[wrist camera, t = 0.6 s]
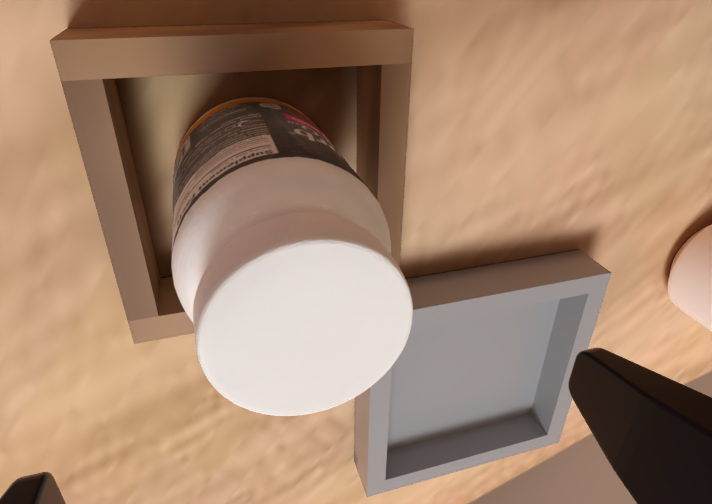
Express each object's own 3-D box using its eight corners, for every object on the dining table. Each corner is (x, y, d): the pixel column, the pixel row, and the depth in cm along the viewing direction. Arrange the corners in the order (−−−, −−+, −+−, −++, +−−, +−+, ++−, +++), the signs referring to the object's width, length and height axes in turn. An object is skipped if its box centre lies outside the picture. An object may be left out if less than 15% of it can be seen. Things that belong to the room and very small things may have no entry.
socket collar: (385, 19, 18) (413, 28, 15) (377, 265, 23) (397, 296, 20) (66, 28, 15) (49, 40, 13) (138, 303, 20) (134, 343, 18)
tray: (579, 249, 26) (611, 272, 24) (535, 413, 32) (558, 442, 30) (355, 287, 23) (372, 317, 21) (354, 461, 29) (367, 497, 27)
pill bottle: (356, 176, 20) (480, 328, 12) (245, 264, 21) (292, 468, 12) (263, 56, 17) (346, 151, 9) (134, 164, 17) (100, 350, 9)
